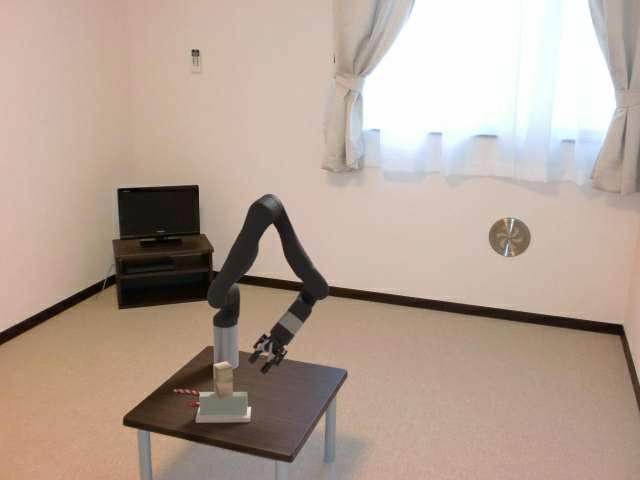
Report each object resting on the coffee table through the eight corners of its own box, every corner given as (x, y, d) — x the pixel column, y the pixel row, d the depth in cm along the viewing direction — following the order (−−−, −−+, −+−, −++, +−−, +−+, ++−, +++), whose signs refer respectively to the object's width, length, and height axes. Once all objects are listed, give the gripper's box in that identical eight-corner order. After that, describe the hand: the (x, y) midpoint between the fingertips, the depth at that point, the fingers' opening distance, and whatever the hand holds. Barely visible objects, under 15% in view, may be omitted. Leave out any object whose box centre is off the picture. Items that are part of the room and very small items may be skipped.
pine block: (214, 392, 201) (213, 364, 198) (226, 389, 203) (226, 361, 201) (220, 398, 197) (219, 369, 195) (232, 395, 200) (232, 366, 197)
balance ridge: (199, 411, 205) (198, 389, 203) (251, 410, 206) (250, 388, 204) (195, 422, 198) (195, 399, 196) (249, 422, 199) (249, 399, 197)
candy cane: (180, 385, 221) (214, 395, 214) (180, 388, 221) (214, 399, 214) (164, 394, 214) (199, 405, 207) (165, 397, 214) (199, 409, 207)
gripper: (269, 315, 212) (239, 353, 208) (290, 329, 200) (258, 370, 197) (283, 326, 216) (253, 364, 213) (304, 341, 204) (273, 381, 201)
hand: (256, 367), depth 205 cm, fingers open, 8 cm apart
